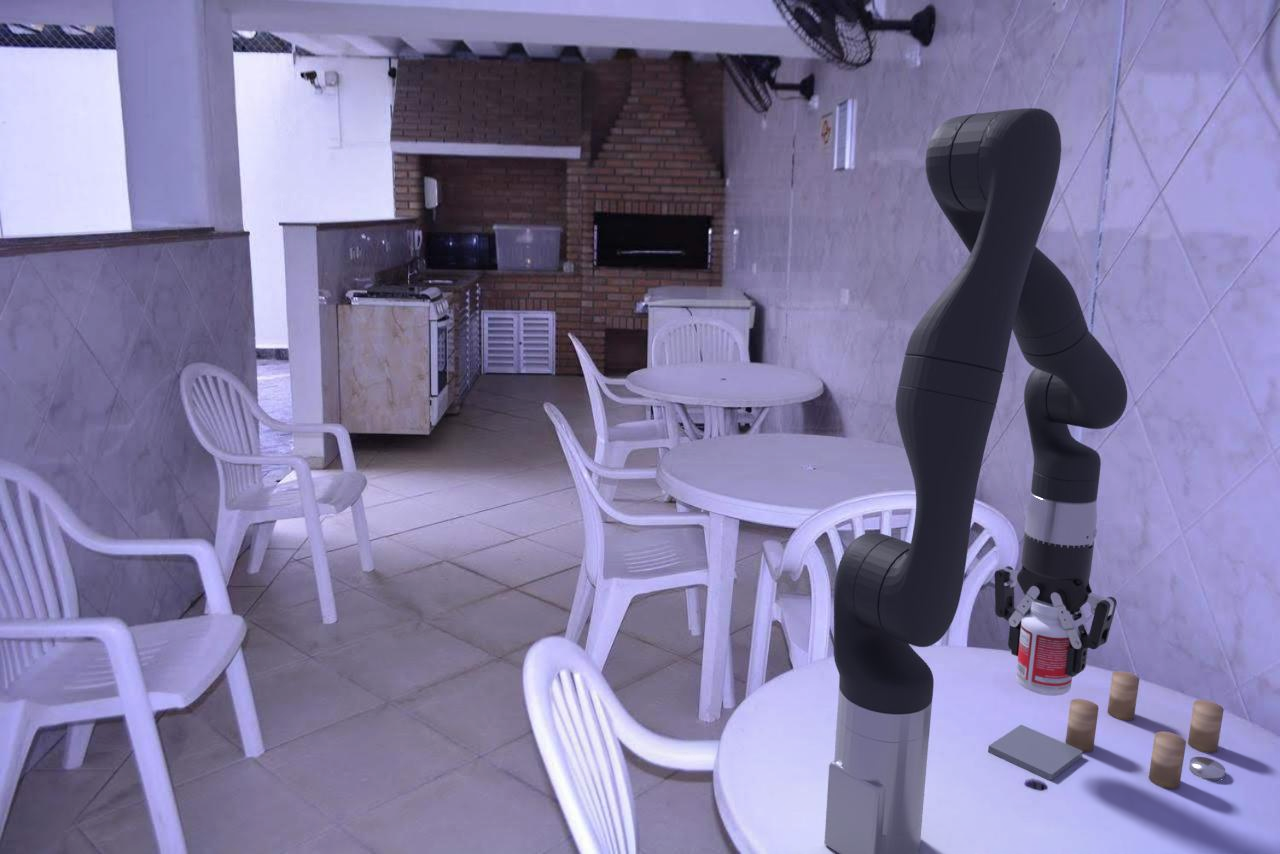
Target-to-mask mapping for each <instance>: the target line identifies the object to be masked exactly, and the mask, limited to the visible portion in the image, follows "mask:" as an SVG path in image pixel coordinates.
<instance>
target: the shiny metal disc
mask: <svg viewBox="0 0 1280 854" xmlns="http://www.w3.org/2000/svg"><path fill="white" fill-rule="evenodd" d="M1188 768H1189V769H1188V770H1189V771H1190V772H1191V773H1192V774H1193V775H1195V776H1196V777H1198V778H1200V777H1201V779H1203V780H1206V779H1207V780H1206V781H1211V780H1212V782H1219V780H1220V781H1222V780H1221V779H1223V778H1224V779H1225V773H1226V768H1225V766H1224V765H1223V764H1222V763H1220V762H1218V761H1217V760H1215V759H1212V758H1209V757H1204V756H1194V757H1191V758H1190V761H1189V767H1188ZM1224 779H1223V780H1224Z"/></svg>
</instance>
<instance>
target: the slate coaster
mask: <svg viewBox="0 0 1280 854" xmlns="http://www.w3.org/2000/svg"><path fill="white" fill-rule="evenodd" d="M987 752H988V753H990V754H992V755H995V756H997V757H999V758H1001V759H1003V760H1006V761H1008V762H1009V763H1012V764H1014V765H1016V766H1017V767H1021V768H1022V769H1025V770H1026V771H1029V772H1031V773H1033V774H1035V775H1038V776H1039V777H1042V778H1044V779H1046V780H1048V781H1053V780H1054V779H1055V778H1057V777H1058V776H1059V775H1061V774H1062V773H1063V772H1064V771H1066V770H1068V768H1070V767H1071V766H1072V765H1074V764H1075V763H1076V762H1078V761H1079V760H1080V759H1081V758H1083V755H1084V752H1083V751H1082V750H1079V749H1077V748H1075V747H1072V746H1070V745H1068V744H1066V742H1063V741H1060V740H1058V739H1056V738H1053V737H1051V736H1049V735H1046V734H1044V733H1041V732H1039V731H1037V730H1034V729H1032V728H1030V727H1028V726H1025V725H1023V724H1020V725H1018V726H1017V727H1015V728H1013V729H1012V730H1010V731H1009V732H1007V733H1006V734H1005V735H1003V736H1001V737H1000V738H998V739H996V740H995V741H993V742H992V743H990V744H989V745H988V750H987Z"/></svg>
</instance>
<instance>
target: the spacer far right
mask: <svg viewBox="0 0 1280 854" xmlns="http://www.w3.org/2000/svg"><path fill="white" fill-rule="evenodd" d="M1139 685H1140V678H1139V677H1138V676H1137V675H1136V674H1134V673H1131V672H1128V671H1123V670H1116V671H1113V672H1112V674H1111V682H1110V689H1109V690H1110V691H1109V698H1108V703H1107V704H1108V705H1107V714H1108V715H1109V716H1111V717H1112V718H1114V719H1116V720H1120V721H1126V722H1127V721H1132V720H1134V719H1135V716H1136V715H1135V713H1136V707H1137V706H1136V705H1137V698H1138V692H1139Z"/></svg>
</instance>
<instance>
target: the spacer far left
mask: <svg viewBox="0 0 1280 854" xmlns="http://www.w3.org/2000/svg"><path fill="white" fill-rule="evenodd" d="M1192 705H1193V706H1192V713H1191V718H1190V719H1191V720H1190V726H1189V733H1188V740H1187V744H1188V745H1189V747H1191V748H1192V749H1193V750H1195V749H1196V750H1195V751H1198V752H1201V753H1205V752H1207V753H1206V754H1214V752H1215V753H1217V752H1218V748H1219V741H1220V737H1221V736H1220V735H1221V728H1222V723H1223V722H1222V721H1223V717H1224V708H1223V706H1221V705H1220V704H1218V703H1216V702H1214V701H1211V700H1206V699H1205V700H1204V699H1197V700H1194V702H1193V704H1192ZM1216 751H1217V752H1216Z"/></svg>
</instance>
